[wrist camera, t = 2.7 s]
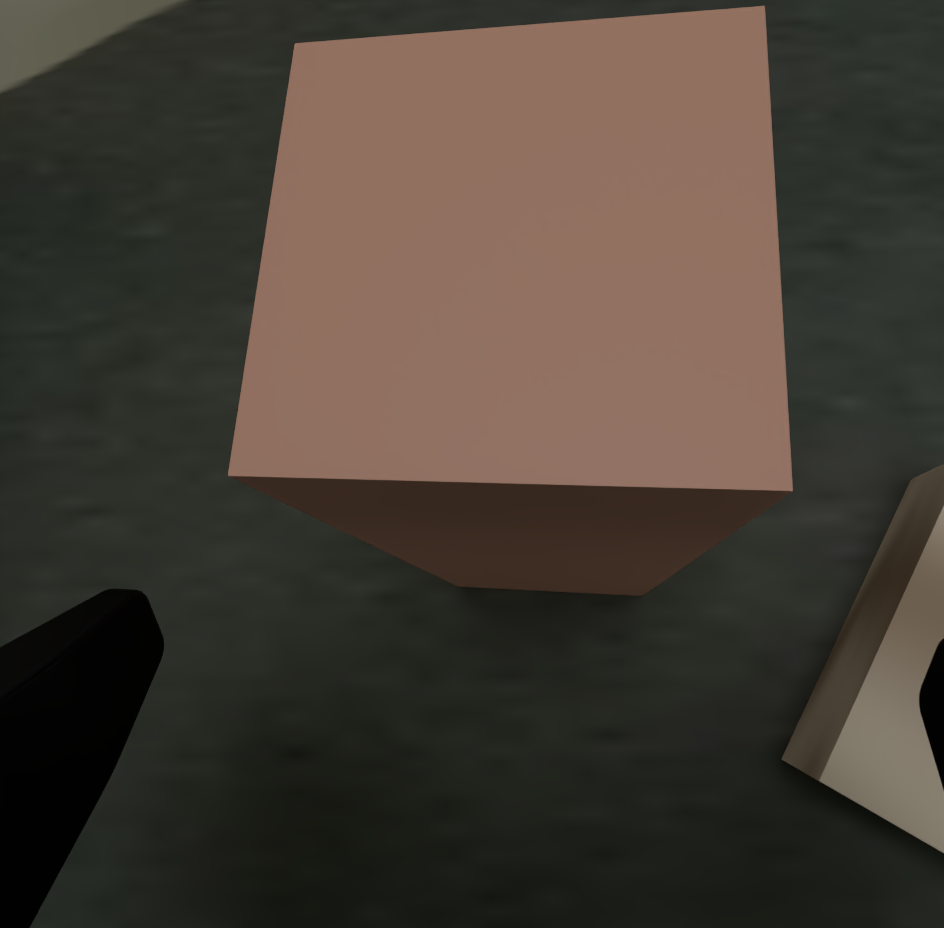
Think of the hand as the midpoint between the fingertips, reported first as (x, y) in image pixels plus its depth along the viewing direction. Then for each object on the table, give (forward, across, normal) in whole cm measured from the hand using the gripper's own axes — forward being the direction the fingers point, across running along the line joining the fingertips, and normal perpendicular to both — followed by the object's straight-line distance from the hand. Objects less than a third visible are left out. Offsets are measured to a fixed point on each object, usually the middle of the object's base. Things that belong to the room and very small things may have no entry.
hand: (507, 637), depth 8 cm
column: (+10, 0, +5) cm, 11 cm away
